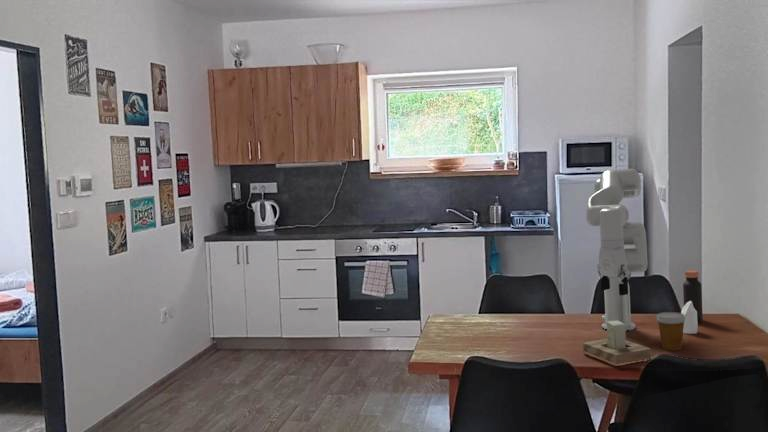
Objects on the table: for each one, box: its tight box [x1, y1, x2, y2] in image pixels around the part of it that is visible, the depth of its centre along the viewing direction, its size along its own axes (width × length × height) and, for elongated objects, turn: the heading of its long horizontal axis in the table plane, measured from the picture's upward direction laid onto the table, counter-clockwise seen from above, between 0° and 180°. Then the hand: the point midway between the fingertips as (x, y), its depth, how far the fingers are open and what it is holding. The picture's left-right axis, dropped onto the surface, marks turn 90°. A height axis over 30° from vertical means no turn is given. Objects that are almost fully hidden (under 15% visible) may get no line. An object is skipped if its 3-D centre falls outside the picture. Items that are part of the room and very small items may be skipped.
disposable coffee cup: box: [656, 311, 685, 352], centre depth 253 cm, size 10×10×12 cm
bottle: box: [682, 269, 704, 323], centre depth 287 cm, size 7×7×20 cm
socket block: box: [582, 338, 652, 364], centre depth 248 cm, size 18×14×4 cm
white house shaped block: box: [680, 301, 699, 335], centre depth 272 cm, size 6×12×6 cm
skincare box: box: [606, 320, 627, 350], centre depth 247 cm, size 6×4×12 cm
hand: (614, 292), depth 250 cm, fingers open, 9 cm apart
